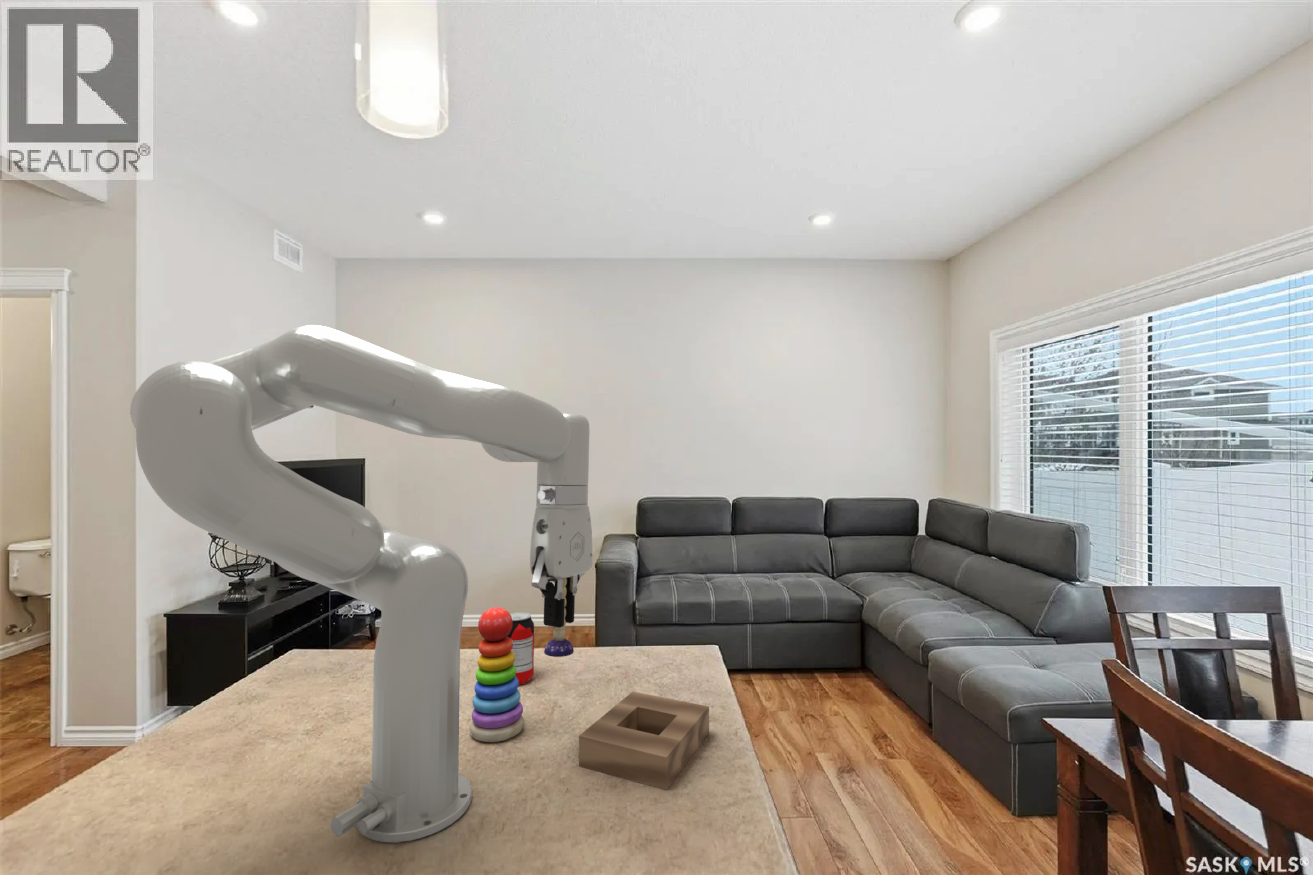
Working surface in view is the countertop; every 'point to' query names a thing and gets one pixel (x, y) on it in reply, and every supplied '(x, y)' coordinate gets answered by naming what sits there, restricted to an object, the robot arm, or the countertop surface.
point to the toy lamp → (560, 636)
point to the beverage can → (523, 645)
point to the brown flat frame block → (645, 739)
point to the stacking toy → (496, 681)
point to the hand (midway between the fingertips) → (558, 622)
